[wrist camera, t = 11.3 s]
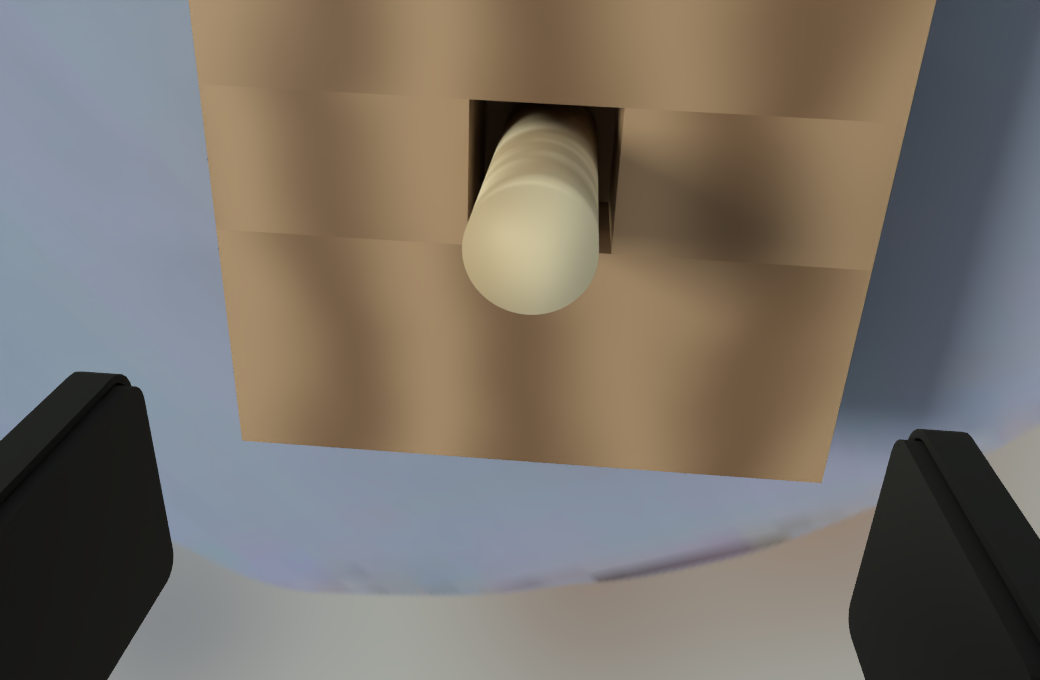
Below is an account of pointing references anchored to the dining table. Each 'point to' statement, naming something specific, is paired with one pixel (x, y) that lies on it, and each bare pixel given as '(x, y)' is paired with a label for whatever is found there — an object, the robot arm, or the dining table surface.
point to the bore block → (622, 222)
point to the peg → (537, 211)
